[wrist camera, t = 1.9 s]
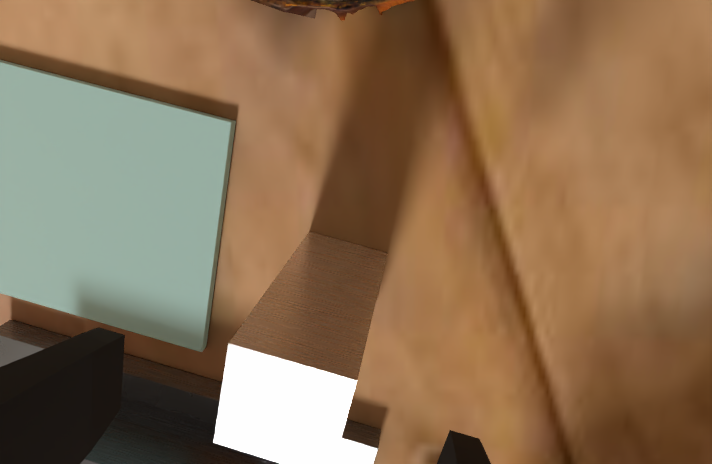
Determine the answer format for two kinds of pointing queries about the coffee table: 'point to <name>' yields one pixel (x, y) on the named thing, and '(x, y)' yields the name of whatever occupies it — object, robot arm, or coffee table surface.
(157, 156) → the mat
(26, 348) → the plate
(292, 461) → the light grey rectangular block
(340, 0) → the burger
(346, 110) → the coffee table surface
